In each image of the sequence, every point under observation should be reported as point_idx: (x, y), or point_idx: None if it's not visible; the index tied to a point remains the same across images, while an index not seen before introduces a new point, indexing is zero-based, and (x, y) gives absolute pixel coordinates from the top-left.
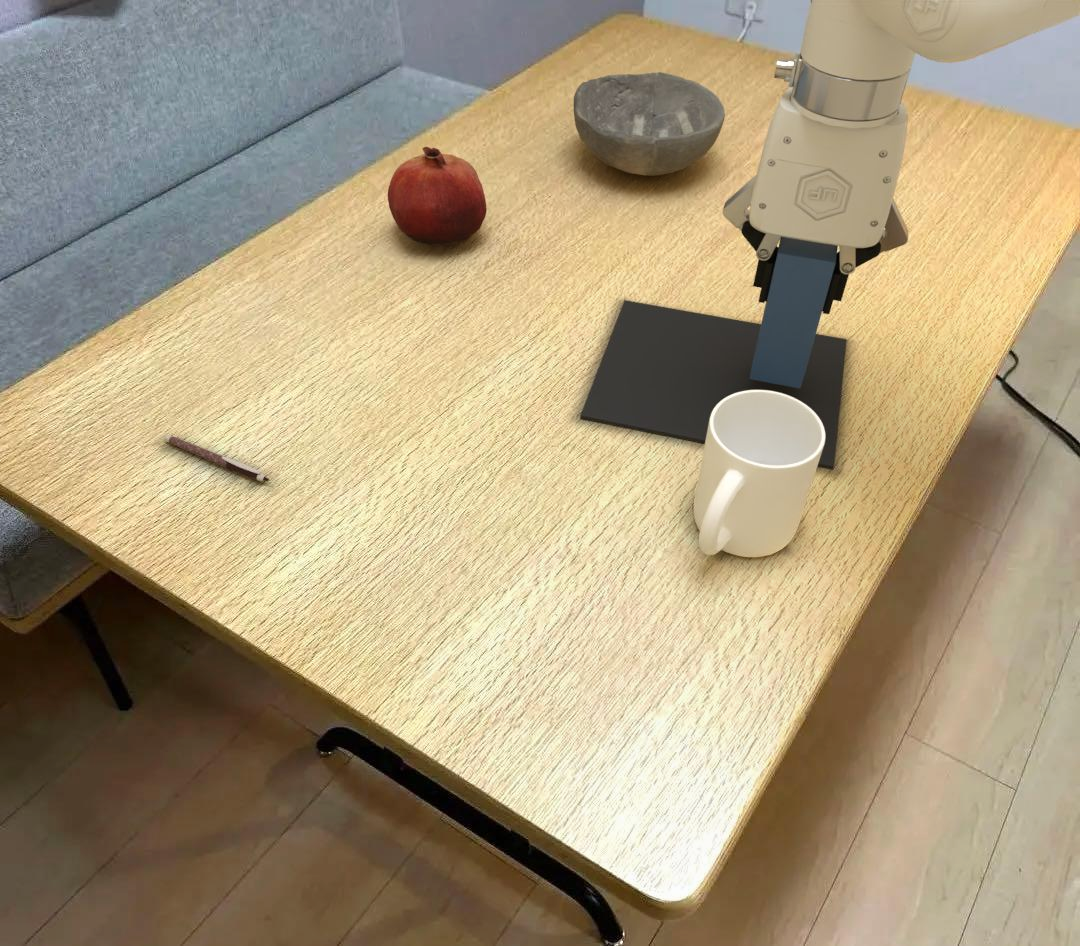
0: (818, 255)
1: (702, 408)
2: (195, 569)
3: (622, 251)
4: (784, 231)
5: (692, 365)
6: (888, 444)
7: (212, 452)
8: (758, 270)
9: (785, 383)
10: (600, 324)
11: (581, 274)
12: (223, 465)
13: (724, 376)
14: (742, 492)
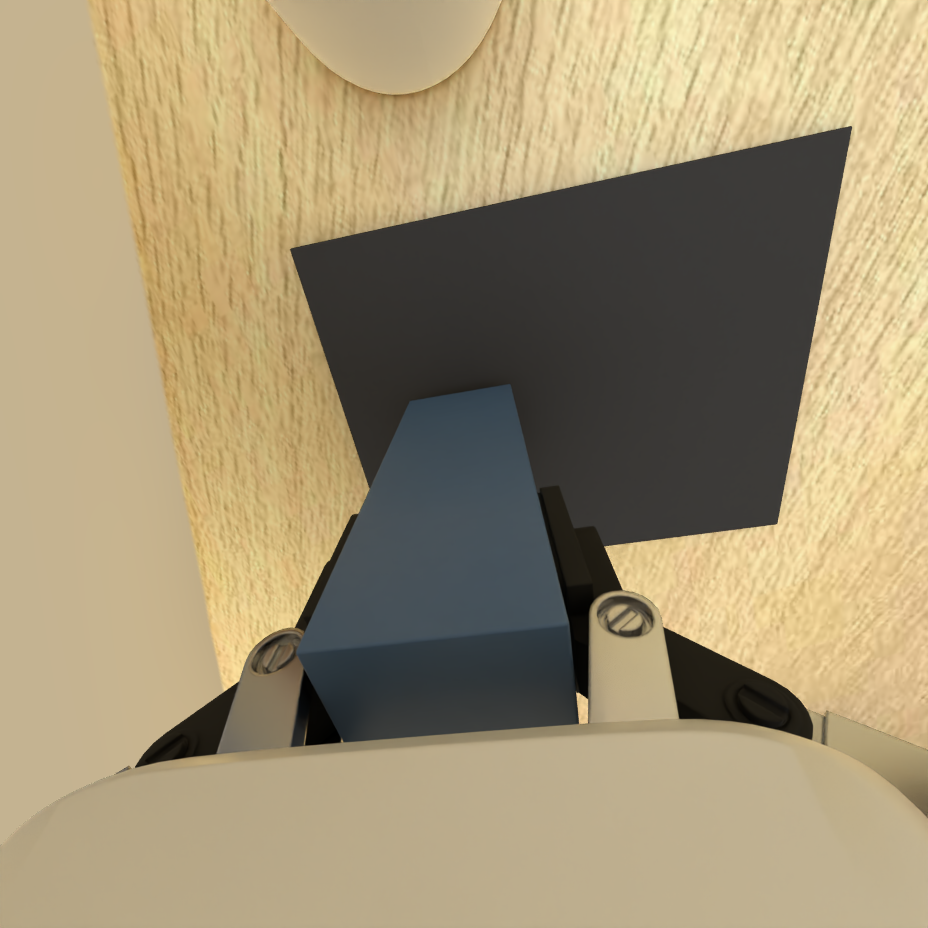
0: (384, 670)
1: (577, 294)
2: None
3: (787, 629)
4: (600, 774)
5: (623, 410)
6: (242, 369)
7: None
8: (603, 565)
9: (438, 398)
10: (814, 452)
11: (859, 558)
12: None
13: (558, 406)
14: None
